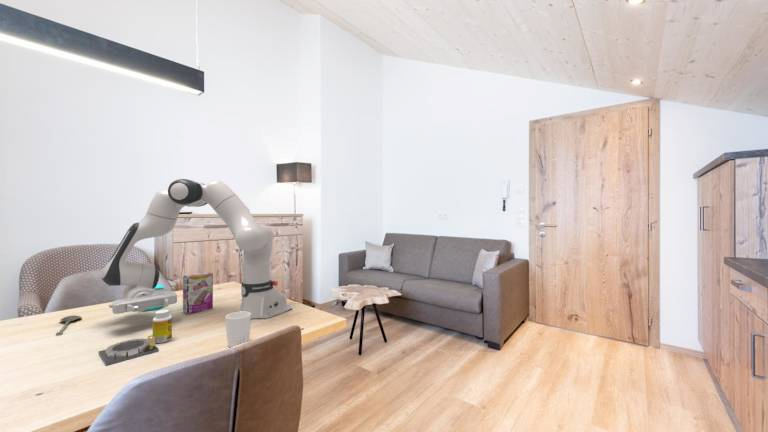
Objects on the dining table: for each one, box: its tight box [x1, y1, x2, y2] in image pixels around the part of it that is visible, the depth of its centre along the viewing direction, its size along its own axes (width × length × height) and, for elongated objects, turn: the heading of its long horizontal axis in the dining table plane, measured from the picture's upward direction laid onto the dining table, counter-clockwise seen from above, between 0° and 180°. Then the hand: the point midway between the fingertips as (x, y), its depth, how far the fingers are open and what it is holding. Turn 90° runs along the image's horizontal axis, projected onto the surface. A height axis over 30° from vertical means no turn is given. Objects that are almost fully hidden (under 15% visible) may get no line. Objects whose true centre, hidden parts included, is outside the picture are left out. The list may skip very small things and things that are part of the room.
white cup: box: [225, 311, 252, 348], centre depth 110 cm, size 8×8×10 cm
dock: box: [98, 334, 160, 366], centre depth 104 cm, size 13×12×5 cm
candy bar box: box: [182, 272, 214, 315], centre depth 147 cm, size 11×5×16 cm, turn 144°
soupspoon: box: [55, 315, 83, 337], centre depth 127 cm, size 22×3×7 cm
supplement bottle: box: [152, 309, 173, 344], centre depth 113 cm, size 6×6×10 cm
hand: (151, 306), depth 120 cm, fingers open, 8 cm apart
